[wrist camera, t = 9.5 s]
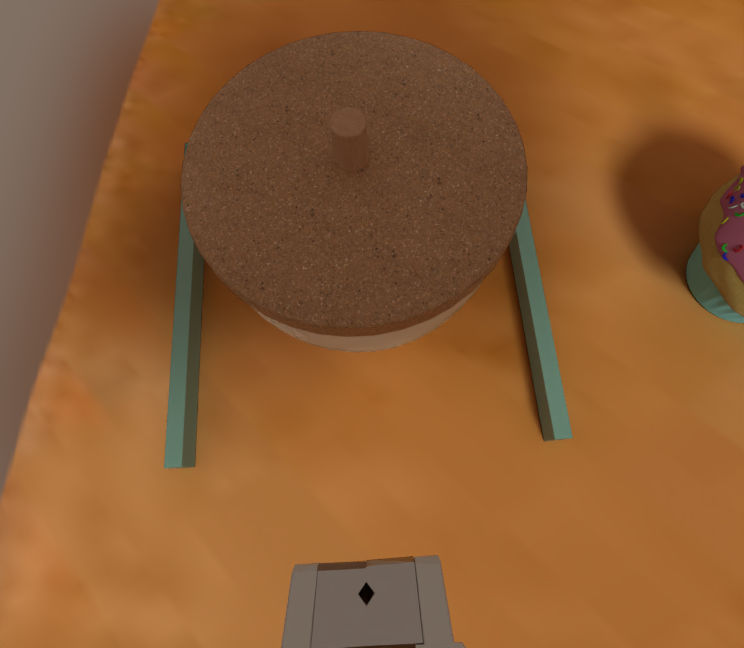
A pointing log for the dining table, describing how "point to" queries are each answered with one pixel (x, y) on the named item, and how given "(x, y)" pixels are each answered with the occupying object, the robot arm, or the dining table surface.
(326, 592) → the robot arm
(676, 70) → the dining table surface
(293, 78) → the lidded bowl
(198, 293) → the teal u-shaped frame
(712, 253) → the cupcake
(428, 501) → the dining table surface
